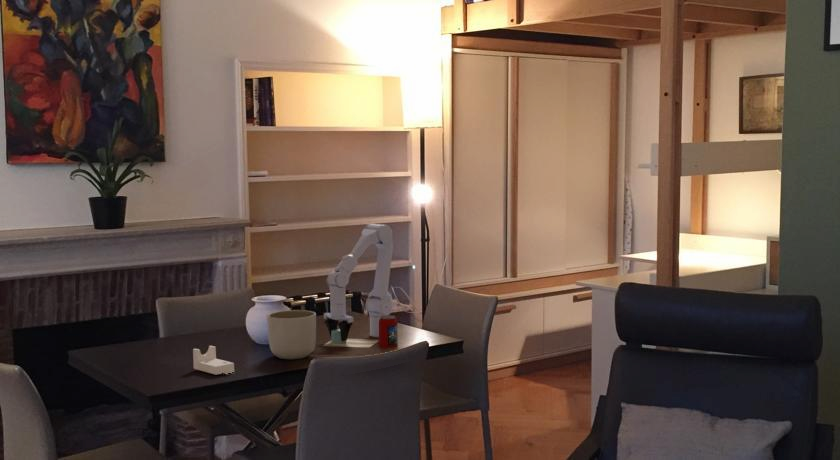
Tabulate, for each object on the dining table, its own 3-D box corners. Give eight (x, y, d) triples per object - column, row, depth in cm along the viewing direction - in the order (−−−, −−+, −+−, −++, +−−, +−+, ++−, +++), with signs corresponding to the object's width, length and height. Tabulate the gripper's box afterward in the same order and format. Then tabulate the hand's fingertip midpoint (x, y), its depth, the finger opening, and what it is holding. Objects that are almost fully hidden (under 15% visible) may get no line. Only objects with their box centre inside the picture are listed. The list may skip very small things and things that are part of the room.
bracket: (193, 371, 318) (193, 349, 317) (211, 367, 323) (211, 345, 322) (216, 377, 309) (215, 354, 308) (234, 373, 314) (233, 351, 313)
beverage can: (395, 351, 343) (394, 318, 342) (377, 350, 344) (376, 318, 343) (399, 347, 349) (399, 315, 348) (381, 347, 351) (381, 314, 350)
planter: (280, 364, 325) (279, 320, 324) (260, 355, 339) (259, 313, 338) (325, 357, 334) (324, 315, 333) (304, 349, 348) (303, 308, 347)
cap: (328, 342, 354) (328, 330, 354) (339, 340, 358) (339, 328, 358) (338, 344, 351) (337, 332, 350) (349, 342, 355) (349, 330, 354)
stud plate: (334, 341, 362) (334, 330, 362) (380, 343, 358) (380, 332, 358) (322, 348, 349) (322, 337, 348) (369, 350, 344) (369, 339, 344)
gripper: (317, 302, 355) (317, 338, 357) (342, 306, 345) (343, 343, 347) (331, 300, 360) (332, 335, 362) (357, 304, 350) (358, 340, 352)
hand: (338, 339), depth 354 cm, fingers closed on cap, 5 cm apart
